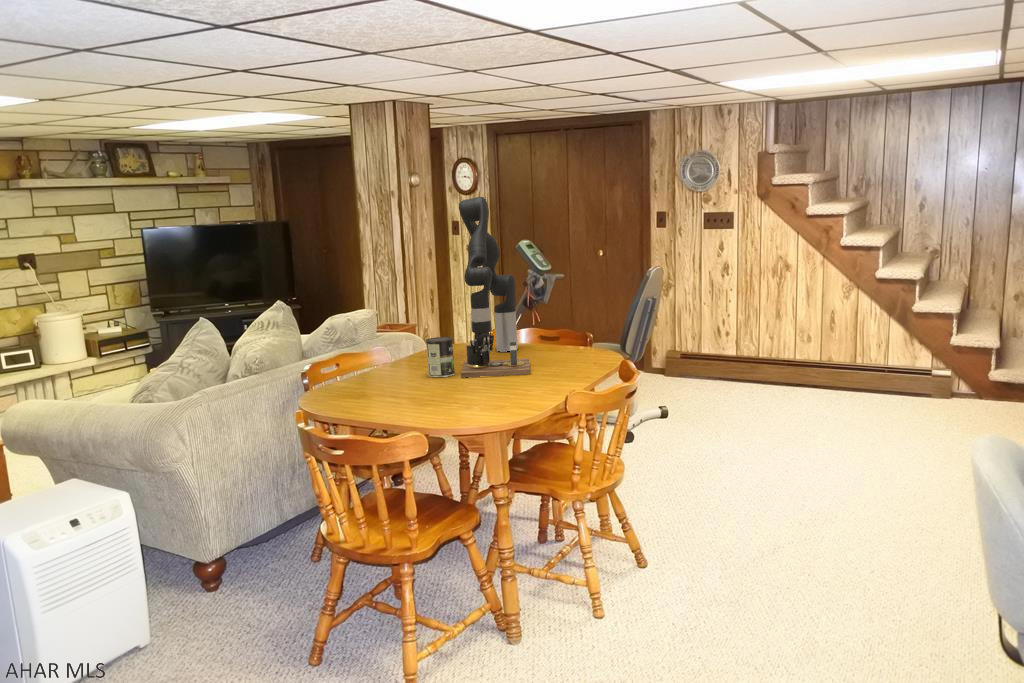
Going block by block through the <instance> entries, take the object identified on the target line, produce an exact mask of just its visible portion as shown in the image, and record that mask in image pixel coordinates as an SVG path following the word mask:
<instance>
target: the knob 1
mask: <svg viewBox="0 0 1024 683" xmlns="http://www.w3.org/2000/svg"><path fill="white" fill-rule="evenodd" d="M465 347H466V359H467V360H466V362H467V363H468V368H472V369H478V368H485V367H488V351H487V350H488V346H484V349H483V365H478V363H477V355H475V354H473V351H472V347H471V344H468V345H466V346H465ZM479 347H482V346H479ZM479 350H480V349H479ZM475 351H476V349H475Z"/></svg>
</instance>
